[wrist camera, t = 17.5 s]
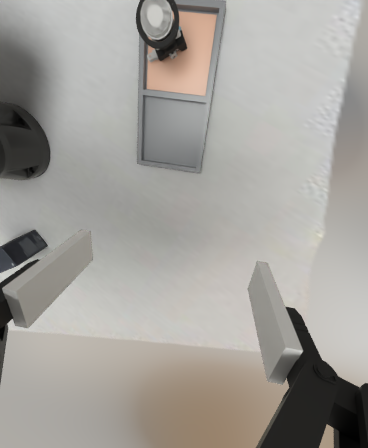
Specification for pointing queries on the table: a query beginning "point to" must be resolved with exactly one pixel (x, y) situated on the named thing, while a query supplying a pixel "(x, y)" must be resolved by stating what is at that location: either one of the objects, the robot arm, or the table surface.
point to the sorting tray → (179, 90)
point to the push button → (160, 28)
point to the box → (20, 250)
